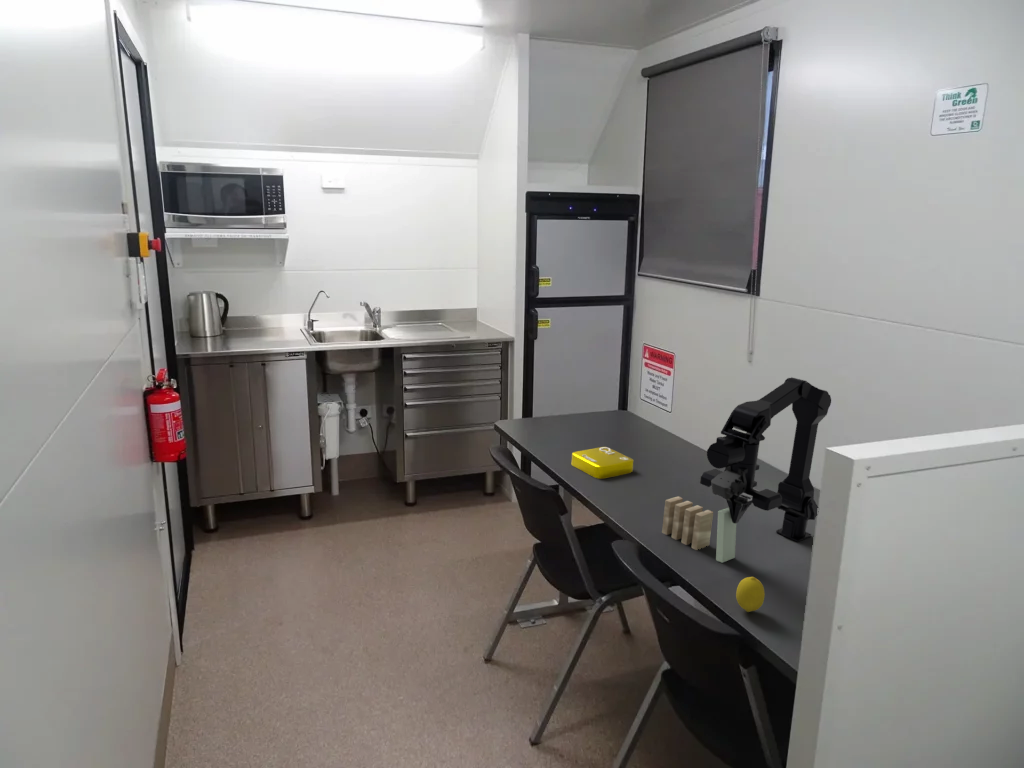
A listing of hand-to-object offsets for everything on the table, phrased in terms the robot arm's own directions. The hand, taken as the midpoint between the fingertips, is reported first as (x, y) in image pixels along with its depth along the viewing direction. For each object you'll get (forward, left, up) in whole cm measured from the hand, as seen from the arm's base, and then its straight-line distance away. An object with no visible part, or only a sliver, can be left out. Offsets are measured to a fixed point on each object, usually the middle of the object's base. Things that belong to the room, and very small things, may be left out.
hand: (735, 522), depth 165 cm
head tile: (0, -1, -10) cm, 10 cm away
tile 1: (0, -9, -10) cm, 13 cm away
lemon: (+15, +16, -10) cm, 24 cm away
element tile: (-16, -61, -11) cm, 64 cm away
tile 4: (0, -18, -10) cm, 21 cm away
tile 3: (0, -15, -10) cm, 18 cm away
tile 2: (0, -12, -10) cm, 16 cm away
